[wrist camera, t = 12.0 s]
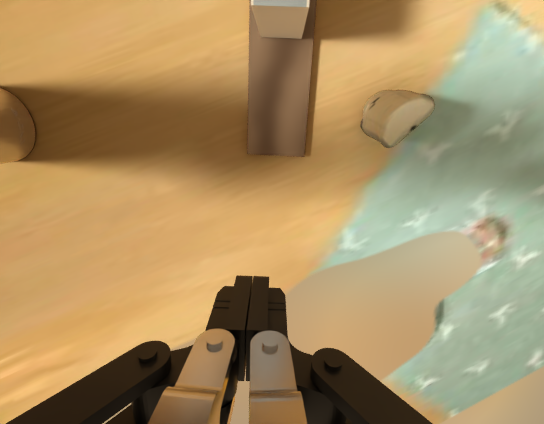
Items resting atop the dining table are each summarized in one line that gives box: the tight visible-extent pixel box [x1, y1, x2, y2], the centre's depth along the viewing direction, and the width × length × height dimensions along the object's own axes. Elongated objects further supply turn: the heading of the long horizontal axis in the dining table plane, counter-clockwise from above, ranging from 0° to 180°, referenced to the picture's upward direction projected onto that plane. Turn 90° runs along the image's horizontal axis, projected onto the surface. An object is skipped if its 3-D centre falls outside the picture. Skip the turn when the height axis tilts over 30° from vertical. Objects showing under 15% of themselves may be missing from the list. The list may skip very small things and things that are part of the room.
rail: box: [247, 0, 317, 157], centre depth 31 cm, size 7×26×3 cm, turn 178°
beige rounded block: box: [361, 90, 435, 148], centre depth 31 cm, size 6×5×8 cm
